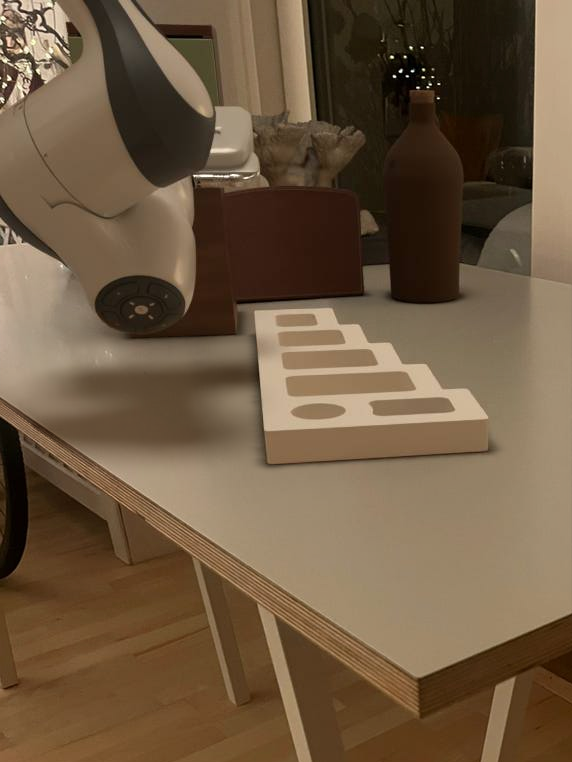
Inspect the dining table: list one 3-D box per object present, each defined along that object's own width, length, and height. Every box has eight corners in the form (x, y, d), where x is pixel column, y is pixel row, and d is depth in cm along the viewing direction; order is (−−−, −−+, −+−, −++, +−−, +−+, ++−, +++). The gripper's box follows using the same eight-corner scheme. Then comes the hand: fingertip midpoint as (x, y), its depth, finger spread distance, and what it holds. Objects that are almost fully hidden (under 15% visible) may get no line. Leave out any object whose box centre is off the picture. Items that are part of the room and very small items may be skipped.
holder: (256, 334, 116) (254, 310, 115) (408, 328, 120) (407, 305, 118) (267, 464, 78) (264, 431, 77) (489, 450, 82) (489, 418, 80)
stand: (244, 337, 115) (211, 24, 99) (119, 342, 112) (65, 21, 97) (245, 312, 127) (216, 29, 111) (132, 316, 124) (85, 26, 109)
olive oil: (446, 307, 131) (445, 91, 119) (374, 300, 134) (365, 90, 122) (473, 292, 140) (475, 90, 127) (405, 286, 143) (400, 89, 130)
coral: (238, 273, 151) (220, 114, 140) (212, 253, 167) (195, 109, 156) (392, 263, 160) (387, 113, 149) (354, 245, 176) (347, 109, 165)
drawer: (219, 138, 96) (208, 36, 91) (69, 138, 93) (51, 34, 89) (225, 126, 115) (216, 42, 111) (100, 126, 112) (86, 40, 108)
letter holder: (365, 295, 137) (360, 184, 130) (220, 305, 131) (207, 188, 124) (346, 282, 145) (340, 177, 138) (209, 291, 139) (195, 181, 132)
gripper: (258, 151, 86) (249, 60, 93) (9, 152, 83) (19, 58, 89) (264, 214, 91) (256, 124, 98) (30, 218, 88) (38, 125, 95)
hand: (141, 93), depth 94 cm, fingers open, 8 cm apart
